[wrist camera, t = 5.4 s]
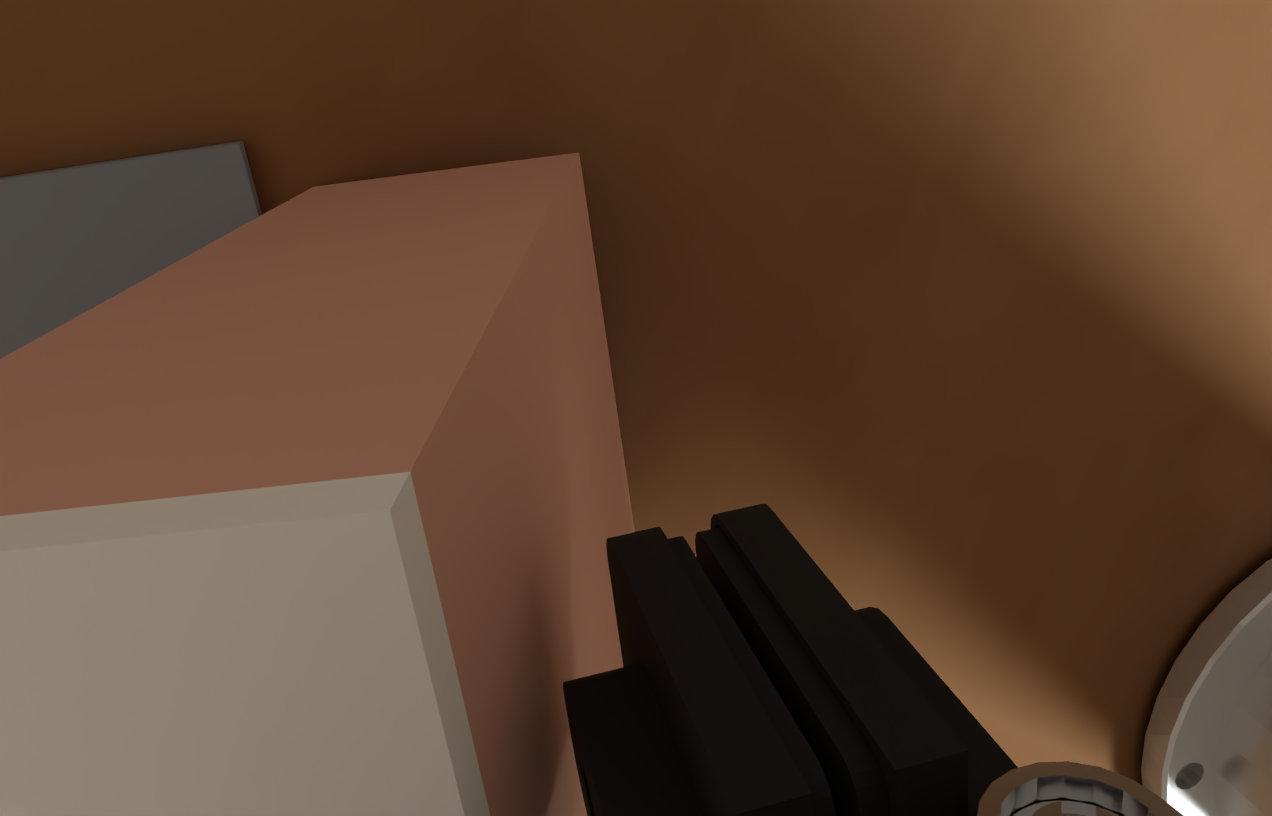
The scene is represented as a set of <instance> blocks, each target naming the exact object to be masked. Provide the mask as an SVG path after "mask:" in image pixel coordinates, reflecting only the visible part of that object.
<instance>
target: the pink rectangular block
mask: <svg viewBox="0 0 1272 816" xmlns="http://www.w3.org/2000/svg"><path fill="white" fill-rule="evenodd" d="M633 532H635V529H634V522H633V515H632V509H631V502H630V495H629V488H628V481H627V474H626V468H625V461H624V454H623V447H622V440H621V434H620V427H619V420H618V413H617V406H616V400H615V393H614V386H613V379H612V372H611V366H610V359H609V352H608V345H607V338H606V331H605V325H604V318H603V311H602V304H601V297H600V291H599V284H598V277H597V270H596V263H595V257H594V250H593V243H592V236H591V229H590V223H589V216H588V209H587V202H586V195H585V188H584V182H583V175H582V168H581V161H580V154H579V152H578V153H570V154H562V155H554V156H547V157H539V158H531V159H524V160H516V161H508V162H500V163H493V164H485V165H477V166H469V167H462V168H454V169H446V170H438V171H431V172H423V173H415V174H407V175H400V176H392V177H384V178H376V179H369V180H361V181H353V182H346V183H338V184H330V185H322V186H315V187H312V188H310V189H308V190H306V191H304V192H303V193H301V194H299V195H297V196H295V197H294V198H292V199H290V200H288V201H286V202H284V203H283V204H281V205H279V206H277V207H275V208H274V209H272V210H270V211H268V212H266V213H264V214H263V215H261V216H259V217H257V218H255V219H254V220H252V221H250V222H248V223H246V224H244V225H243V226H241V227H239V228H237V229H235V230H234V231H232V232H230V233H228V234H226V235H224V236H223V237H221V238H219V239H217V240H215V241H214V242H212V243H210V244H208V245H206V246H204V247H203V248H201V249H199V250H197V251H195V252H194V253H192V254H190V255H188V256H186V257H184V258H183V259H181V260H179V261H177V262H175V263H174V264H172V265H170V266H168V267H166V268H164V269H163V270H161V271H159V272H157V273H155V274H154V275H152V276H150V277H148V278H146V279H144V280H143V281H141V282H139V283H137V284H135V285H134V286H132V287H130V288H128V289H126V290H125V291H123V292H121V293H119V294H117V295H115V296H114V297H112V298H110V299H108V300H106V301H105V302H103V303H101V304H99V305H97V306H95V307H94V308H92V309H90V310H88V311H86V312H85V313H83V314H81V315H79V316H77V317H75V318H74V319H72V320H70V321H68V322H66V323H65V324H63V325H61V326H59V327H57V328H55V329H54V330H52V331H50V332H48V333H46V334H45V335H43V336H41V337H39V338H37V339H35V340H34V341H32V342H30V343H28V344H26V345H25V346H23V347H21V348H19V349H17V350H15V351H14V352H12V353H10V354H8V355H6V356H5V357H3V358H1V359H0V816H587V812H586V807H585V803H584V799H583V794H582V790H581V785H580V781H579V776H578V771H577V766H576V761H575V756H574V750H573V745H572V739H571V733H570V728H569V722H568V716H567V711H566V704H565V698H564V691H563V682H566V681H570V680H574V679H578V678H582V677H586V676H590V675H594V674H598V673H602V672H606V671H610V670H615V669H619V668H623V661H622V654H621V647H620V640H619V633H618V626H617V620H616V613H615V606H614V599H613V592H612V585H611V579H610V572H609V565H608V558H607V549H606V541H607V538H611V537H615V536H620V535H624V534H629V533H633Z"/></svg>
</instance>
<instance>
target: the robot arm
mask: <svg viewBox="0 0 1272 816" xmlns="http://www.w3.org/2000/svg"><path fill="white" fill-rule="evenodd" d="M695 543H696V555H697V558H696V556H695V555H694V553H693V551H692V550H691V548H690V546H689V545H688V543H687V541H686V540H685V538H684V537H683V536H680V537H675V538H671V539H667V538H666V536H665V534H664V532H663V531H662V529H661V528H660V527H656V528H651V529H647V530H642V531H638V532H633V533H629V534H624V535H620V536H615V537H611V538H607V541H606V549H607V558H608V565H609V572H610V579H611V585H612V592H613V599H614V606H615V613H616V620H617V626H618V633H619V640H620V647H621V654H622V661H623V668H619V669H615V670H610V671H606V672H602V673H598V674H594V675H590V676H586V677H582V678H578V679H574V680H570V681H566V682H563V691H564V698H565V704H566V711H567V716H568V722H569V728H570V733H571V739H572V745H573V750H574V756H575V761H576V766H577V771H578V776H579V781H580V785H581V790H582V794H583V799H584V803H585V807H586V812H587V816H1272V558H1271V559H1269V560H1268V561H1266V562H1265V563H1264V564H1263V565H1261V566H1260V567H1259V568H1258V569H1257V570H1255V571H1254V572H1253V573H1252V574H1251V575H1249V576H1248V577H1247V578H1246V579H1245V580H1243V581H1242V582H1241V583H1240V584H1239V585H1237V586H1236V587H1235V588H1234V589H1233V590H1231V591H1230V592H1229V594H1228V595H1227V596H1226V597H1225V598H1224V599H1223V600H1222V601H1221V602H1220V603H1219V604H1218V606H1217V607H1216V608H1215V609H1214V610H1213V611H1212V612H1211V613H1210V614H1209V615H1208V616H1207V618H1206V619H1205V620H1204V621H1203V622H1202V623H1201V624H1200V625H1199V627H1198V628H1197V630H1196V631H1195V633H1194V634H1193V636H1192V637H1191V638H1190V640H1189V641H1188V643H1187V644H1186V646H1185V647H1184V649H1183V650H1182V651H1181V653H1180V654H1179V656H1178V657H1177V659H1176V660H1175V662H1174V664H1173V666H1172V668H1171V670H1170V672H1169V674H1168V676H1167V678H1166V680H1165V682H1164V684H1163V686H1162V688H1161V690H1160V692H1159V694H1158V696H1157V699H1156V702H1155V705H1154V709H1153V712H1152V715H1151V718H1150V721H1149V725H1148V728H1147V731H1146V734H1145V741H1144V750H1143V758H1142V767H1141V775H1142V785H1143V786H1142V785H1140V784H1139V783H1137V782H1136V781H1134V780H1132V779H1131V778H1128V777H1126V776H1123V775H1120V774H1118V773H1115V772H1112V771H1110V770H1107V769H1104V768H1102V767H1098V766H1092V765H1086V764H1080V763H1075V762H1069V761H1063V762H1037V763H1034V764H1030V765H1026V766H1023V767H1019V768H1018V767H1017V766H1016V765H1015V764H1014V763H1013V761H1012V760H1011V759H1010V758H1009V757H1008V756H1007V755H1006V753H1005V752H1004V751H1003V750H1002V749H1001V748H1000V746H999V745H998V744H997V743H996V742H995V741H994V739H993V738H992V737H991V736H990V735H989V734H988V733H987V731H986V730H985V729H984V728H983V727H982V726H981V724H980V723H979V722H978V721H977V720H976V719H975V718H974V716H973V715H972V714H971V713H970V712H969V711H968V709H967V708H966V707H965V706H964V705H963V704H962V702H961V701H960V700H959V699H958V698H957V697H956V696H955V694H954V693H953V692H952V691H951V690H950V689H949V687H948V686H947V685H946V684H945V683H944V682H943V681H942V679H941V678H940V677H939V676H938V675H937V674H936V672H935V671H934V670H933V669H932V668H931V667H930V665H929V664H928V663H927V662H926V661H925V660H924V659H923V657H922V656H921V655H920V654H919V653H918V652H917V650H916V649H915V648H914V647H913V646H912V645H911V644H910V642H909V641H908V640H907V639H906V638H905V637H904V635H903V634H902V633H901V632H900V631H899V630H898V628H897V627H896V626H895V625H894V624H893V623H892V622H891V620H890V619H889V618H888V617H887V616H886V615H885V614H884V613H883V612H881V611H880V610H879V609H878V608H873V607H868V608H864V609H860V610H856V611H854V610H853V609H852V607H851V606H850V605H849V604H848V603H847V601H846V600H845V599H844V598H843V596H842V595H841V594H840V593H839V592H838V590H837V589H836V588H835V587H834V585H833V584H832V583H831V582H830V580H829V579H828V578H827V577H826V576H825V574H824V573H823V572H822V571H821V569H820V568H819V567H818V566H817V565H816V563H815V562H814V561H813V560H812V558H811V557H810V556H809V555H808V554H807V552H806V551H805V550H804V549H803V547H802V546H801V545H800V544H799V543H798V541H797V540H796V539H795V538H794V536H793V535H792V534H791V533H790V532H789V530H788V529H787V528H786V527H785V525H784V524H783V523H782V522H781V521H780V519H779V518H778V517H777V516H776V514H775V513H774V512H773V511H772V510H771V508H770V507H769V506H768V505H766V504H760V505H755V506H751V507H746V508H742V509H737V510H732V511H728V512H723V513H719V514H714V515H713V516H712V518H711V530H706V531H702V532H698V533H697V534H696V539H695Z"/></svg>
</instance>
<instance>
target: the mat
mask: <svg viewBox="0 0 1272 816" xmlns="http://www.w3.org/2000/svg"><path fill="white" fill-rule="evenodd" d="M261 215H262V211H261V207H260V204H259V200H258V196H257V192H256V189H255V185H254V181H253V177H252V174H251V170H250V166H249V162H248V158H247V155H246V151H245V147H244V143H243V141H237V142H230V143H224V144H217V145H211V146H204V147H197V148H191V149H184V150H178V151H171V152H165V153H158V154H152V155H145V156H139V157H132V158H125V159H119V160H112V161H106V162H99V163H93V164H86V165H80V166H73V167H66V168H60V169H53V170H47V171H40V172H34V173H27V174H21V175H14V176H7V177H1V178H0V359H1V358H3V357H5V356H6V355H8V354H10V353H12V352H14V351H15V350H17V349H19V348H21V347H23V346H25V345H26V344H28V343H30V342H32V341H34V340H35V339H37V338H39V337H41V336H43V335H45V334H46V333H48V332H50V331H52V330H54V329H55V328H57V327H59V326H61V325H63V324H65V323H66V322H68V321H70V320H72V319H74V318H75V317H77V316H79V315H81V314H83V313H85V312H86V311H88V310H90V309H92V308H94V307H95V306H97V305H99V304H101V303H103V302H105V301H106V300H108V299H110V298H112V297H114V296H115V295H117V294H119V293H121V292H123V291H125V290H126V289H128V288H130V287H132V286H134V285H135V284H137V283H139V282H141V281H143V280H144V279H146V278H148V277H150V276H152V275H154V274H155V273H157V272H159V271H161V270H163V269H164V268H166V267H168V266H170V265H172V264H174V263H175V262H177V261H179V260H181V259H183V258H184V257H186V256H188V255H190V254H192V253H194V252H195V251H197V250H199V249H201V248H203V247H204V246H206V245H208V244H210V243H212V242H214V241H215V240H217V239H219V238H221V237H223V236H224V235H226V234H228V233H230V232H232V231H234V230H235V229H237V228H239V227H241V226H243V225H244V224H246V223H248V222H250V221H252V220H254V219H255V218H257V217H259V216H261Z"/></svg>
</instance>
